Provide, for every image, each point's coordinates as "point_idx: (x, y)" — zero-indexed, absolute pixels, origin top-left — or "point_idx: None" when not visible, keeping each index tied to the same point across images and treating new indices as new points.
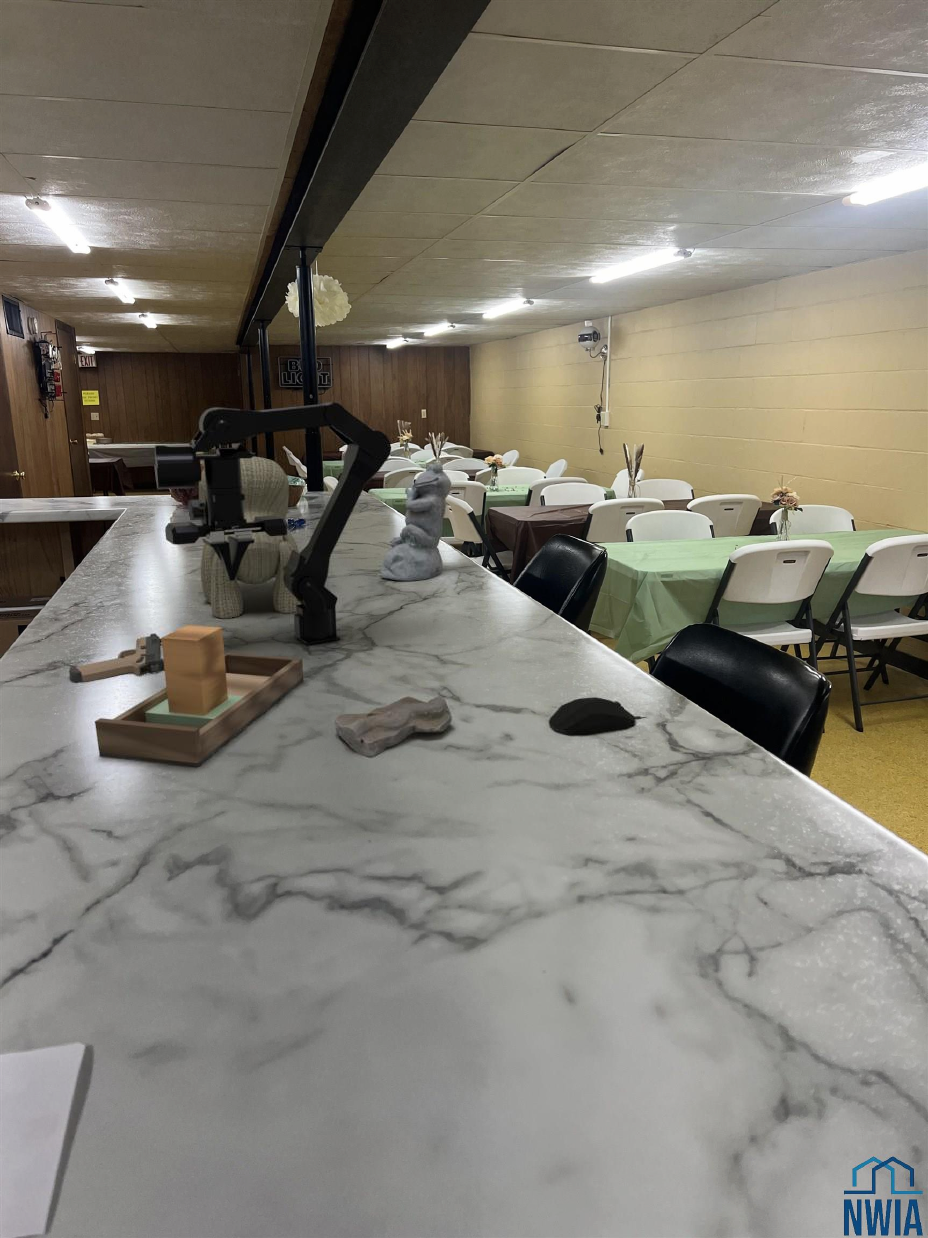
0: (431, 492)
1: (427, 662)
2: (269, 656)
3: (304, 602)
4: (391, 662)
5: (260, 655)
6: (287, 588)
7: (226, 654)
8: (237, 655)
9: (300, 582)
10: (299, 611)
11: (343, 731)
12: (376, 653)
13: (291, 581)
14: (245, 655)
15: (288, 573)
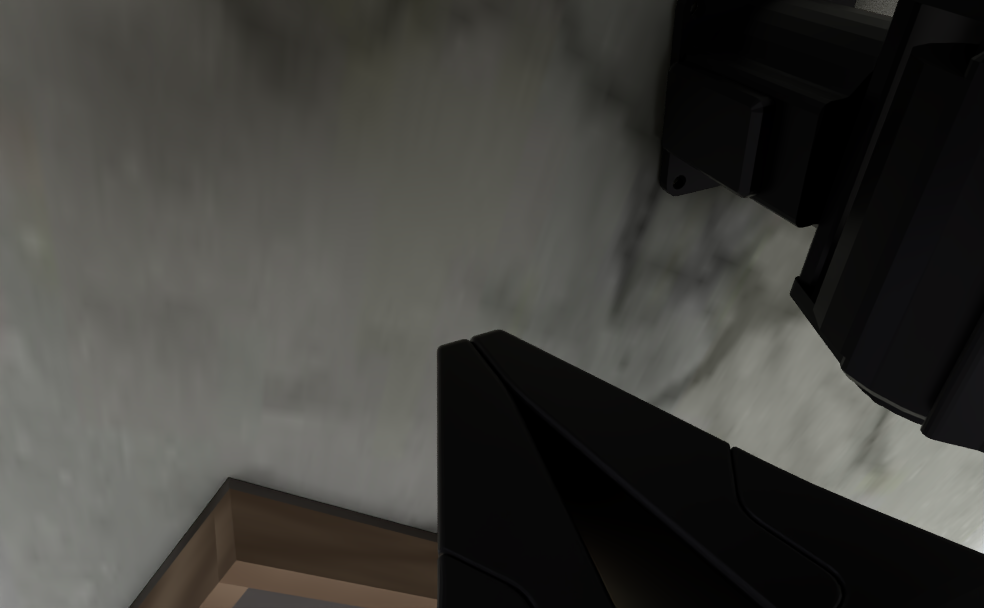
0: None
1: (837, 449)
2: (425, 602)
3: (815, 322)
4: (773, 437)
5: (394, 591)
6: (891, 152)
7: (247, 581)
8: (298, 593)
9: (914, 420)
10: (784, 162)
11: None
12: (795, 352)
13: (896, 385)
14: (333, 591)
15: (969, 373)
